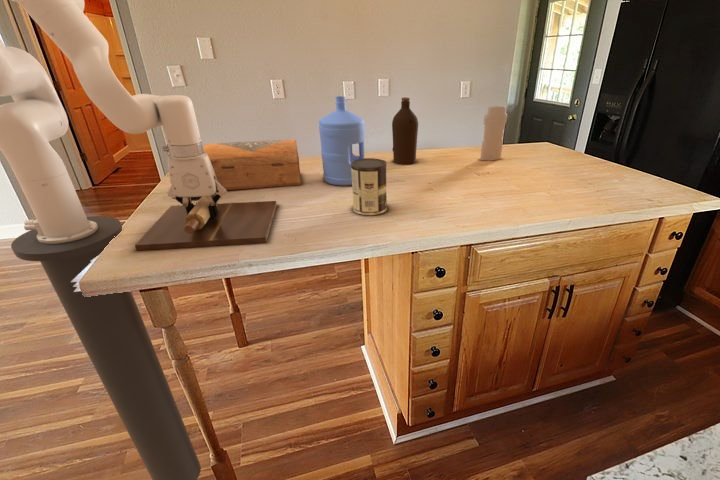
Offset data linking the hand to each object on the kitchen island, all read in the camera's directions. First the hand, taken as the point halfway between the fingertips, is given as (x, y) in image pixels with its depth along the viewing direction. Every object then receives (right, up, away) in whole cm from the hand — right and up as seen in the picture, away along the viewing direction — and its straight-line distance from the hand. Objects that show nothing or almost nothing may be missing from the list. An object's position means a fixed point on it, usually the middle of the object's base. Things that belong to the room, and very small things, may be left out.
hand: (204, 217), depth 105 cm
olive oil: (+55, +31, +61) cm, 88 cm away
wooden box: (+2, +17, +35) cm, 39 cm away
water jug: (+33, +18, +38) cm, 53 cm away
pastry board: (+2, -2, +1) cm, 3 cm away
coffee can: (+44, +4, +13) cm, 46 cm away
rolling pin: (0, +2, -1) cm, 2 cm away
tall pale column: (+92, +34, +65) cm, 118 cm away
